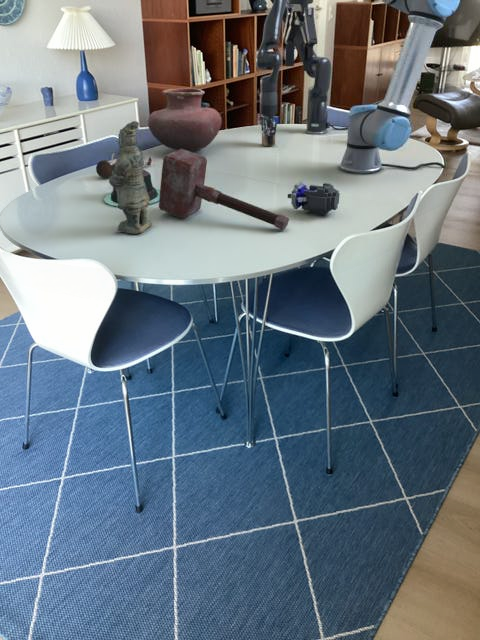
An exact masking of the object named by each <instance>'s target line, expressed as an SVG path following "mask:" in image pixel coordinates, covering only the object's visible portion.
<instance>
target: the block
mask: <svg viewBox="0 0 480 640" xmlns="http://www.w3.org/2000/svg"><path fill="white" fill-rule="evenodd" d="M261 145H263V146H264V147H269V146H271V145H268V133H263V132H262V133H261ZM275 145H276V134H275V135H274V136H273V145H272V146H275Z"/></svg>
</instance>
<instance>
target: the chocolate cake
mask: <svg viewBox="0 0 480 640" xmlns="http://www.w3.org/2000/svg"><path fill="white" fill-rule="evenodd" d="M113 175H114V172H113V173H112V176H113ZM143 178H144V182H145V184H146V188H147V192H148V195H149V197H150V204H154V203H157V202H159V198H160V188H156V187H154V185H153V182H152V174H151V172H149V171H148V170H146V169H144V168H143ZM103 200H104V202H105V203H106V204H108V205H109V206H115V207H118V202H117V192H116V189H115V188H114V187H112V191H111V193H108V194H107V195H106V196H104V198H103ZM150 204H149V205H150Z"/></svg>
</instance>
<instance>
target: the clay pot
mask: <svg viewBox="0 0 480 640" xmlns="http://www.w3.org/2000/svg"><path fill="white" fill-rule="evenodd" d="M205 92H206V91H204V90H202V89H199V88H193V87H191V88H189V87H187V88H172V89H163V90H162V92H161V93H162V94H163V95H165V97H166V99H167V105H166V107H165V108H163V109H159V110H155V111H153V112H151V113H150V114H149V116H148V117H147V119H148V120H147V127H148V129H149V131H150V133H151V135H152V136H153V137H154V138H155V139H156V140H157V142H159V143H160V144H161V145H163V146H165V147H166V148H169V149H171V150H174V151H177V150H179V149H184V150H187V151H190V152H192V153H194V152H197V151H201V150H202V149H204V148H206V147H207V146H209V145H210V144H211V143H212V142H213V141H214V139H215V138H216V137H217V136H218V133H219V131H220V129H221V127H222V122H223V120H222V116H221V114H220V113H219V112H218V111H217V110H216V109H215V108H212V107H202V99H203V96H204V94H205Z"/></svg>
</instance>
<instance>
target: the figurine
mask: <svg viewBox="0 0 480 640" xmlns="http://www.w3.org/2000/svg"><path fill="white" fill-rule="evenodd" d="M114 157H115V153H112V154H111V160H105V159H103V160H99V161H98V162H97V163H96V166H95V172H96V174H97V175H98V177H100V178H102V179H108V178H111V176H112V173H113V172H114V170H115V164H116V162H114ZM152 160H153V159H152V157H151V156H149V157H148V160H147V161H146V162H144V166H151V165H152Z"/></svg>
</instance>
